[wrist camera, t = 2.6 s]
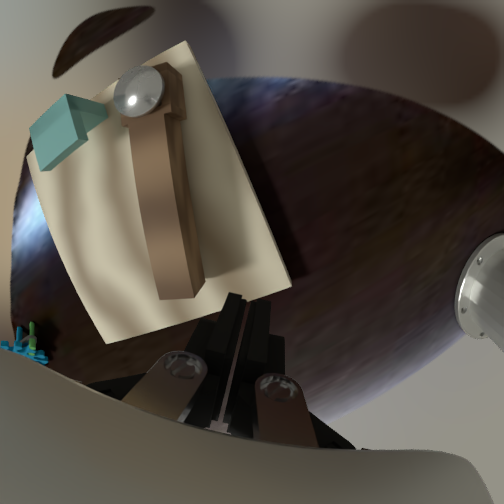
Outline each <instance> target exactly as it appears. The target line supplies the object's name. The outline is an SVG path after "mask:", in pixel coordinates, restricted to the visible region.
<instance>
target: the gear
mask: <svg viewBox="0 0 504 504" xmlns="http://www.w3.org/2000/svg"><path fill="white" fill-rule="evenodd" d="M36 343H37V337H36V336H34V323H33V322H30V335H28V336H27V337H25V338H24V339H22V328H21V327H17V341H14V346H13V347H9V342H8V341H1V347H0V348H2V349H6V350H10V351H12V352H15V353H18V354H21V355H23V356H25V357H27V358H30V359H32V360H34V361H36V362H38V363H40V364H42V365H44V366H45V364H47V363H48V357H47V356H45V352H44V351H43V350H38V351H36Z"/></svg>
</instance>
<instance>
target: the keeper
mask: <svg viewBox="0 0 504 504" xmlns="http://www.w3.org/2000/svg"><path fill="white" fill-rule="evenodd" d="M107 118H108V115H107V112H106V109H105V106H104V104H102V103H98V102H95V101H91V100H88V99H83V98H80V97H76V96H73V95H69V94H64V96H62V97H61V98H60V99H59V100H58V101H57V102H56V103H55V104H53V105H52V106H51V107H50V108H49V109H48V110H47V111H46V112H45V113H44V114H43V115H42V116H41V117H40V118H39V119H38V120H37V121H36V122H35V123H34V124H33V125H32V126H31V127H30V128H29V129H30V134H31V139H32V143H33V147H34V151H35V155H36V159H37V162H38V166H39V169H40V172H43V171H51V170H52V169H53V168H55V167H56V166H57V165H58V164H59V163H61V162H62V161H63V160H64V159H65V158H67V157H68V156H69V155H70V154H71V153H73V152H74V151H75V150H76V149H78V148H79V147H80V146H82V145H83V144H84V143H86V142H87V141H88V140H89V139H88V136H87V133H88V132H89V131H90V130H92V129H93V128H94V127H96V126H97V125H98V124H100V123H101V122H103V121H104V120H105V119H107Z"/></svg>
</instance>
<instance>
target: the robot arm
mask: <svg viewBox="0 0 504 504" xmlns="http://www.w3.org/2000/svg"><path fill="white" fill-rule="evenodd" d="M246 302H247V300H246V299H242V295H240V294H236V293H232V292H229V293H228V295H227V298H226V300H225V303H224V305H223V308H222V310H221V313H220V315H219V318H218V320H217V322H216V321H212V320H208V319H204V318H201V319H200V321H199V323H198V325H197V327H196V329H195V331H194V333H193V335H192V336H191V338H190V340H189V342H188V344H187V346H186V348H185V350H184V351H174V352H170V353H167V354H165V355H164V356H162V357H161V358H160V359H159V360H158V361H157V362H156V363H155V365H154V366H153V367H152V368H151V369H150V370H149V371H148V372H147V373H143V374H138V375H133V376H128V377H123V378H117V379H112V380H106V381H101V382H95V383H91V384H88V385H87V386H84V385H82V384H81V382H80V381H76V380H72V379H70V378H68V377H66V376H64V375H62V374H60V373H58V372H56V371H54V370H52V369H50V368H48V367H46V366H44V365H42V364H40V363H38V362H36V361H34V360H32V359H30V358H27V357H25V356H23V355H21V354H18V353H15V352H12V351H10V350H6V349H2V348H0V504H494V503H493V500H492V498H491V496H490V493H489V491H488V490H487V487H486V485H485V483H484V482H483V479H482V478H481V476H480V474H479V473H478V471H477V470H476V468H475V467H474V466H473V465H472V464H471V462H469V461H468V460H467V459H465V458H462V457H460V456H457V455H453V454H450V453H446V452H441V451H433V450H412V449H411V450H370V449H365V448H362V449H361V450H356V448H355V447H354V446H353V445H352V444H351V443H350V442H349V441H347V440H346V439H345V438H343V437H342V436H341V435H339V434H338V433H337V432H335V431H334V430H333V429H331V428H330V427H329V426H327V425H326V424H325V423H324V422H322V421H321V420H320V419H318V418H317V417H316V416H315V415H313V414H312V413H311V412H310V411H308V407H307V404H306V400H305V397H304V393H303V390H302V388H301V386H300V385H299V384H298V382H297V381H295V380H294V379H292V378H291V377H289V376H286V375H285V339H284V337H281V336H277V335H272V334H269V326H270V311H271V302H270V301H266V300H262V299H257V302H254V301H251V304H250V309H249V313H248V317H247V321H246V325H245V329H244V333H243V337H242V341H241V346H240V350H239V354H238V358H237V362H236V366H235V371H234V375H233V380H232V384H231V388H230V393H229V397H228V401H227V406H226V410H225V414H224V419H223V423H228V429H227V432H229V433H231V434H232V435H230V434H226V433H221V432H217V431H213V430H209V429H205V427H207V428H210V424H211V420H215V421H218V418H219V414H220V410H221V406H222V402H223V398H224V394H225V390H226V386H227V382H228V378H229V374H230V370H231V366H232V361H233V357H234V353H235V349H236V345H237V340H238V336H239V332H240V328H241V323H242V319H243V315H244V311H245V306H246ZM455 314H456V319H457V322H458V324H459V326H460V327H461V328H462V330H463V331H464V332H465V333H466V334H467V335H468V336H470V337H473V338H475V339H484V338H488V337H489V338H490V339H491V340H492V341H493V342H494V343H495V344H496V345H497V346H498V347H499V348H500V349H501V350H502V351H503V352H504V233H499V234H495V235H493V236H491V237H489V238H487V239H486V240H485V241H484V242H482V243H481V244H480V245H479V246H478V247H477V249H476V250H475V251H474V252H473V253H472V255H471V256H470V258H469V259H468V261H467V263H466V265H465V267H464V269H463V271H462V274H461V276H460V279H459V281H458V286H457V290H456V295H455Z"/></svg>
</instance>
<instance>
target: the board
mask: <svg viewBox="0 0 504 504" xmlns="http://www.w3.org/2000/svg"><path fill="white" fill-rule="evenodd" d="M164 62H168V63H169V64H170V65H171V66H172V67H174V68H175V69H176V70H177V71H178V72H179V73H180V74H182V80H183V89H184V98H185V107H186V115H187V119H186V120H182V121H180V124H181V132H182V140H183V147H184V155H185V162H186V169H187V176H188V182H189V189H190V195H191V202H192V208H193V214H194V220H195V226H196V232H197V237H198V243H199V249H200V254H201V259H202V265H203V270H204V275H205V280H206V282H205V284H204V285H203V287H202V288H201V289H200V291H199V292H198V294H197V295H196V297H195V298H191V299H173V300H159V296H158V292H157V288H156V284H155V280H154V276H153V271H152V267H151V263H150V258H149V254H148V249H147V244H146V240H145V235H144V230H143V224H142V219H141V214H140V208H139V202H138V196H137V190H136V184H135V177H134V170H133V163H132V155H131V146H130V138H129V128H127V127H122V125H121V114H120V112H119V111H118V110H117V109H116V107H115V105H114V100H113V94H114V89H115V86H116V84H117V82H118V81H119V80H118V81H116V82H114V83H113V84H111V85H110V86H109V87H107V88H106V89H104V90H103V91H102V92H100V93H99V94H97V95H96V96H95V97H93V98H92V99H91V101H95V102H98V103H102V104H104V106H105V109H106V112H107V115H108V118H107V119H105V120H104V121H103V122H101V123H100V124H98V125H97V126H96V127H94V128H93V129H92V130H90V131H89V132H88V133H87V136H88V139H89V140H88V141H87V142H86V143H84V144H83V145H82V146H80V147H79V148H78V149H76V150H75V151H74V152H73V153H71V154H70V155H69V156H68V157H67V158H65V159H64V160H63V161H62V162H61V163H59V164H58V165H57V166H56V167H55V168H53V169H52V170H51V171H43V172H40V169H39V166H38V162H37V159H36V155H35V151H34V150H33V151H32V152H31V153H30V154H29V155H28V156H27V161H28V165H29V169H30V172H31V176H32V179H33V183H34V186H35V189H36V192H37V196H38V199H39V202H40V205H41V208H42V210H43V213H44V216H45V219H46V222H47V224H48V227H49V230H50V232H51V235H52V237H53V240H54V242H55V245H56V247H57V249H58V252H59V254H60V256H61V259H62V261H63V263H64V265H65V268H66V270H67V272H68V274H69V276H70V278H71V280H72V282H73V285H74V287H75V289H76V291H77V293H78V295H79V296H80V298H81V300H82V302H83V304H84V306H85V308H86V310H87V312H88V313H89V315H90V317H91V319H92V321H93V322H94V324H95V326H96V328H97V329H98V331H99V333H100V334H101V336H102V338H103V339H104V341H105V343H106V344H109V343H112V342H116V341H120V340H123V339H127V338H131V337H134V336H138V335H141V334H145V333H148V332H152V331H155V330H159V329H162V328H166V327H169V326H172V325H176V324H179V323H182V322H185V321H189V320H192V319H195V318H198V317H202V316H205V315H208V314H211V313H214V312H217V311H221V310H222V308H223V305H224V303H225V300H226V298H227V295H228V293H229V292H232V293H236V294H240V295H242V299H246V300H247V302H248V301H251V300H254V299H257V298H260V297H263V296H266V295H269V294H271V293H274V292H277V291H280V290H283V289H286V288H289V287H291V279H290V276H289V274H288V271H287V269H286V266H285V264H284V261H283V259H282V256H281V254H280V251H279V249H278V246H277V244H276V241H275V239H274V236H273V234H272V232H271V229H270V227H269V224H268V222H267V219H266V217H265V215H264V212H263V210H262V207H261V205H260V202H259V200H258V198H257V195H256V193H255V191H254V188H253V186H252V183H251V181H250V179H249V176H248V174H247V172H246V169H245V167H244V165H243V162H242V160H241V158H240V155H239V153H238V151H237V148H236V146H235V144H234V142H233V139H232V137H231V135H230V132H229V130H228V128H227V126H226V123H225V121H224V119H223V117H222V114H221V112H220V110H219V108H218V105H217V103H216V101H215V99H214V97H213V94H212V92H211V90H210V88H209V86H208V83H207V81H206V79H205V77H204V75H203V72H202V70H201V68H200V66H199V64H198V62H197V60H196V57H195V55H194V53H193V51H192V49H191V47H190V45H189V44H188V43H187V42H186V41H184V42H182V43H180V44H178V45H176V46H174V47H172V48H170V49H168V50H167V51H165V52H163V53H161V54H159V55H158V56H156V57H154V58H152V59H151V60H149V61H147V62H146V63H144V64H142V65H146V66H150V67H152V66H155V65H158V64H161V63H164Z"/></svg>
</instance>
